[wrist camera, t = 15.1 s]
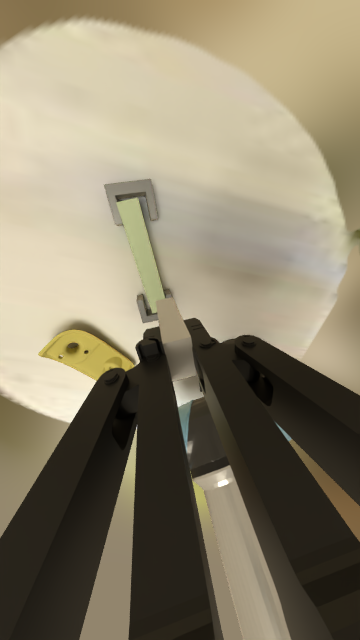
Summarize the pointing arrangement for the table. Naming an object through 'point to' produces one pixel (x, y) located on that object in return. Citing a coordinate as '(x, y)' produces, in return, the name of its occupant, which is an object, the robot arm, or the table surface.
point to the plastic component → (87, 363)
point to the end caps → (113, 194)
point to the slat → (141, 249)
